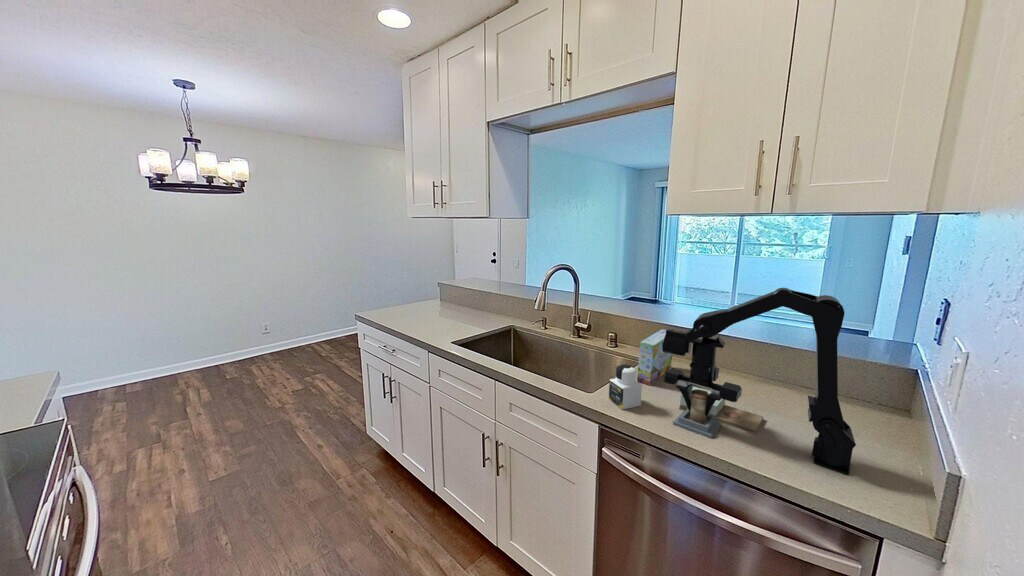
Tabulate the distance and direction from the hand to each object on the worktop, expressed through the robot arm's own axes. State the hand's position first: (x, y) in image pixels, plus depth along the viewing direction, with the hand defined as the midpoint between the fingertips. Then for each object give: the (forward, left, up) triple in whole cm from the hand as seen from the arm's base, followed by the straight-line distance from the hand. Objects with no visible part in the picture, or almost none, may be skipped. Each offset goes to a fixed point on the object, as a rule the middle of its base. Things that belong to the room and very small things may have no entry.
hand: (698, 412), depth 106 cm
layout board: (-3, -11, -4) cm, 12 cm away
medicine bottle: (+21, +2, -4) cm, 22 cm away
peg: (0, 0, -2) cm, 2 cm away
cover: (+2, -11, -3) cm, 11 cm away
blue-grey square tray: (0, 0, -4) cm, 4 cm away
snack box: (+23, -26, -4) cm, 35 cm away
